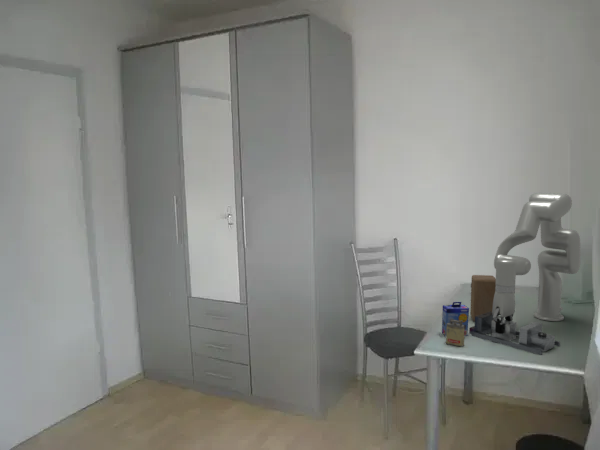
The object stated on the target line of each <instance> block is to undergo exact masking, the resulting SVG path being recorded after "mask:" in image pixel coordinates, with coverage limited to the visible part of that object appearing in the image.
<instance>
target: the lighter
mask: <svg viewBox="0 0 600 450" xmlns="http://www.w3.org/2000/svg"><path fill="white" fill-rule="evenodd" d="M452 322H453V323H452ZM457 323H460V324H457ZM462 323H463V321H462V320H461V321H459V320H454V319H450V323H447V330H446V336H445V343H446V344H447V345H450V346H456V347H464V346H465V336H464V331H465V328H464V325H462Z"/></svg>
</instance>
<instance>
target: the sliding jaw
mask: <svg viewBox="0 0 600 450" xmlns="http://www.w3.org/2000/svg"><path fill="white" fill-rule="evenodd" d="M519 331H520V335H519V336H518V337H519V338H518V344H522V345H525V346H529V347H533V348H536V349H540V350H543V352H547V351H549V350H552V349H553V348H554V347H555V345H554V343H555V341H556V340H555V339H556V338H555V337H556V336H555V335H554V334H549V333H547V332H543V323H541V322H538V321H534V322H531V323H529V324H527V325H523V326H520V327H519Z"/></svg>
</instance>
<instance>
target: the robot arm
mask: <svg viewBox="0 0 600 450" xmlns="http://www.w3.org/2000/svg"><path fill="white" fill-rule="evenodd" d="M572 202H573V200H572V198H571V196H570V195H569V194H566V193H551V192H538V193H537V192H536V193H535V192H534V193H532V194H530V196H529V198H528V201H527V202H525V203H524V204H523V207H522V209H521V213H520V215H519V218H518V221H517V224H516V227H515V230H514V232H513V233H511V234H510V235H508V236H507V237H506V238H505V239H504V240H503V241H502V242H501V243H500V244H499V245H498V247H497V250H496V253H495V256H494V260H493V267H494V269H495V279H496V284H495V294H494V300H493V309H492V315H493V319H494V321H495V323H496V326H495V332H496V333H499V334H503V326H504V325H503V320H508V321H512V322H513V318H514V314H515V312H516V309H515V308H516V297H515V294H516V280H517V279H516V278H517V277H516V276H525V275H527V274H528V273H529V272H530V271H531V268H532V264H531V263H532V262H531V261H530V260H529V259H528V258H526V257H524V256H516V255H510V254H509V252H510V251H511V250H512V249H513V248H515V247H517V246H518V245H522V244H525V243H528V242H531V241H534V240H535V239H536V238H537V235H538V232H539V230H540V243H541V245H542V246H543V247H544V248H547V249H549V250H547V249H545V250H543V251H540V252H539V254H538V256H537V266H538V278H539V279H538V294H537V295H538V297H537V311H535V312H534V313H533V317H534V318H536V319H538V320H541V321H547V322H561V321H563V320H564V315H563V314H561V311H563V309H564V308H563V307H562V306H561V305H562V304H561V303H562V288H563V281H562V277H561V276H560V274H559V273H562V274H570V275H576V274H577V273H578V272H579V271H580V268H581V237H580V236H581V235H580V234H579V232H578V231H576V230H575V229H571V228H563V227H562V217H564V216H565V215H566V214H568V213H569V212H570V210H571V209H572V206H573V203H572ZM550 249H551V250H550ZM552 249H553V250H552ZM561 250H562V251H561ZM498 318H500V319H501V321H500V319H498Z"/></svg>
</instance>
